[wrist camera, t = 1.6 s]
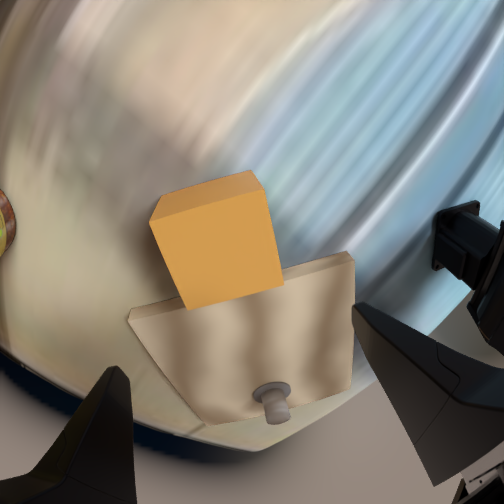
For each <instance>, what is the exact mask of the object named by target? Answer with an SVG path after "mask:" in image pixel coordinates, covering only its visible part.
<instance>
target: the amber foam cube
mask: <svg viewBox="0 0 504 504" xmlns="http://www.w3.org/2000/svg"><path fill="white" fill-rule="evenodd" d="M149 224H150V226H151V229H152V231H153V234H154V236H155V239H156V241H157V244H158V246H159V248H160V251H161V253H162V255H163V258H164V260H165V262H166V265H167V267H168V269H169V271H170V274H171V276H172V278H173V280H174V283H175V285H176V287H177V289H178V291H179V293H180V296H181V298H182V300H183V302H184V304H185V306H186V308H187V310H193V309H197V308H201V307H205V306H209V305H212V304H216V303H220V302H224V301H228V300H232V299H235V298H239V297H243V296H247V295H250V294H254V293H258V292H261V291H265V290H269V289H272V288H276V287H279V286H283V285H284V280H283V275H282V270H281V265H280V261H279V256H278V251H277V246H276V241H275V237H274V232H273V227H272V222H271V218H270V213H269V209H268V204H267V199H266V195H265V190H264V188H263V186H262V185H261V184H260V182H259V181H258V179H257V178H256V176H255V175H254V174H253V172H252V171H251V170H249V171H245V172H241V173H237V174H233V175H230V176H226V177H222V178H219V179H215V180H211V181H208V182H205V183H201V184H198V185H194V186H191V187H188V188H184V189H181V190H178V191H175V192H172V193H168V194H165V195H162V196H161V198H160V200H159V202H158V204H157V206H156V208H155V210H154V212H153V214H152V216H151V218H150V221H149Z"/></svg>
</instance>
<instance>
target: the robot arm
mask: <svg viewBox="0 0 504 504" xmlns="http://www.w3.org/2000/svg"><path fill="white" fill-rule="evenodd" d="M479 210H480V202H479V201H477V200H474V201H471V202H468V203H465V204H461V205H458V206H455V207H451V208H448V209H445V210H441V211H440V212H439V213H438V217H437V228H436V238H435V246H434V254H433V261H432V269H433V270H434V271H437V270H440V269H442V268H444V267H445V268H446V269H447V270H448V271H450V272H451V273H452V274H453V275H454V276H455V277H456V278H457V279H458V280H462V281H463V282H465V283H466V284H467V285H468V286H469V287H470V288H471V289H472V290H475V292H474V294H473V296H472V298H471V300H470V301H469V302H468V304H467V309H468V311H469V312H470V314H471V316H472V318H473V319H474V321H475V323H476V325H477V327H478V329H479V330H480V332H481V334H482V336H483V338H484V339H485V341H486V342H487V343H488V344H489V345H490V346H492V347H494V348H495V349H497V350H498V351H499V352H500V353H501V354H502V355H503V356H504V220H502V221H501V224H500V226H501V227H500V230H499V229H498V228H496V227H495V226H493V225H492V224H490V223H489V222H487V221H486V220H484V219H482V218H481V217H479ZM351 321H352V326H353V328H354V330H355V333H356V335H357V337H358V340H359V342H360V344H361V347H362V349H363V351H364V354H365V356H366V358H367V360H368V362H369V364H370V366H371V368H372V369H373V371H374V373H375V375H376V376H377V378H378V380H379V382H380V383H381V385H382V387H383V389H384V391H385V393H386V394H387V396H388V398H389V400H390V401H391V403H392V405H393V407H394V409H395V411H396V413H397V415H398V416H399V418H400V420H401V422H402V424H403V426H404V428H405V430H406V432H407V434H408V436H409V437H410V439H411V441H412V443H413V445H414V447H415V449H416V451H417V453H418V455H419V457H420V459H421V462H422V463H423V465H424V468H425V470H426V472H427V474H428V476H429V478H430V480H431V482H432V484H433V486H434V487H435V486H437V485H439V484H440V483H442V482H444V481H446V480H447V479H449V478H451V477H453V476H454V475H456V474H457V473H459V472H461V474H462V476H463V479H461V481H460V484H459V486H458V489H457V492H456V494H455V497H454V499H453V502H452V504H504V369H501V368H496V367H493V366H490V365H488V364H485V363H483V362H480V361H478V360H475V359H473V358H470V357H468V356H466V355H463V354H461V353H459V352H457V351H454V350H453V349H451V348H449V347H447V346H445V345H443V344H441V343H439V342H436V341H435V340H434V339H432V338H430V337H428V336H426V335H424V334H422V333H421V332H419V331H417V330H415V329H413V328H411V327H409V326H408V325H406V324H404V323H402V322H400V321H398V320H396V319H395V318H393V317H391V316H389V315H387V314H385V313H383V312H382V311H380V310H378V309H376V308H374V307H372V306H370V305H368V304H367V303H365V302H358V303H356V304H353V305H352V308H351ZM133 456H134V454H133V413H132V402H131V390H130V381H129V378H128V377H127V376H126V375H125V373H124V372H123V371H122V370H121V369H120V368H119V367H118V366H111V367H108V368H107V369H106V371H105V372H104V373H103V375H102V376H101V377H100V379H99V380H98V381H97V383H96V384H95V385H94V387H93V388H92V390H91V391H90V392H89V394H88V395H87V396H86V398H85V399H84V401H83V402H82V403H81V405H80V406H79V408H78V409H77V410H76V412H75V413H74V415H73V416H72V418H71V419H70V420H69V422H68V423H67V425H66V426H65V428H64V430H63V431H62V432H61V433H60V435H59V436H58V438H57V439H56V441H55V442H54V443H53V445H52V446H51V447H50V449H49V450H48V451H47V453H46V454H45V455H44V456H43V457H42V459H41V460H40V461H39V462H38V464H37V465H36V466H35V467H34V468H33V470H31V471H30V472H29V473H27V474H24V475H21V476H17V477H13V478H9V479H5V480H0V504H137V497H136V486H135V472H134V457H133Z"/></svg>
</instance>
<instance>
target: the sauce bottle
mask: <svg viewBox="0 0 504 504" xmlns="http://www.w3.org/2000/svg"><path fill="white" fill-rule="evenodd" d="M15 226H16V222H15V216H14V213H13V209H12V207H11V205H10V202H9V200H8V198H7V197H6V195H5V194H4V192H3V191H1V189H0V257H1V255H2V254H3V252H5V251H6V250H7V248H8V247H9V245H10V244H11V243H12V241H13V239H14V235H15Z"/></svg>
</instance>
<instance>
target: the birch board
mask: <svg viewBox="0 0 504 504" xmlns="http://www.w3.org/2000/svg"><path fill="white" fill-rule="evenodd" d="M282 275H283V280H284V285H283V286H279V287H276V288H272V289H269V290H265V291H261V292H258V293H254V294H250V295H247V296H243V297H239V298H235V299H232V300H228V301H224V302H220V303H216V304H212V305H209V306H205V307H201V308H197V309H193V310H187V308H186V306H185V304H184V302H183V300H182V298H181V297H178V298H174V299H170V300H166V301H162V302H158V303H154V304H150V305H146V306H141V307H137V308H133V309H131V311H130V315H129V318H128V322H129V324H130V325H131V327H132V329H133V330H134V332H135V333H136V335H137V336H138V338H139V339H140V341H141V342H142V344H143V345H144V347H145V348H146V349H147V351H148V352H149V354H150V355H151V357H152V358H153V359H154V361H155V362H156V363H157V365H158V366H159V368H160V369H161V370H162V372H163V373H164V374H165V376H166V377H167V378H168V380H169V381H170V382H171V383H172V385H173V386H174V387H175V389H176V390H177V391H178V392H179V394H180V395H181V396H182V397H183V398H184V400H185V401H186V402H187V403H188V404H189V406H190V407H191V408H192V409H193V410H194V412H195V413H196V414H197V415H198V416H199V417H200V418H201V420H202V421H203V422H204V423H205V424H206V425H207V426H211V425H218V424H223V423H229V422H234V421H239V420H244V419H249V418H254V417H258V416H263V415H265V416H266V421H267V423H268V424H272V425H275V424H281V423H284V422H286V421H288V420H289V419H290V417H291V416H290V413H289V409H290V408H294V407H297V406H301V405H304V404H307V403H310V402H314V401H317V400H320V399H323V398H326V397H329V396H332V395H335V394H338V393H340V392H343V391H346V390H349V389H350V386H351V375H352V361H353V345H354V328H353V326H352V321H351V308H352V305H353V304H355V260H354V259H353V258H352V257H351V256H350V254H349V253H348V252H347V251H344V252H341V253H337V254H334V255H331V256H327V257H324V258H320V259H317V260H314V261H310V262H307V263H303V264H300V265H296V266H293V267H289V268H286V269H282Z"/></svg>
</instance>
